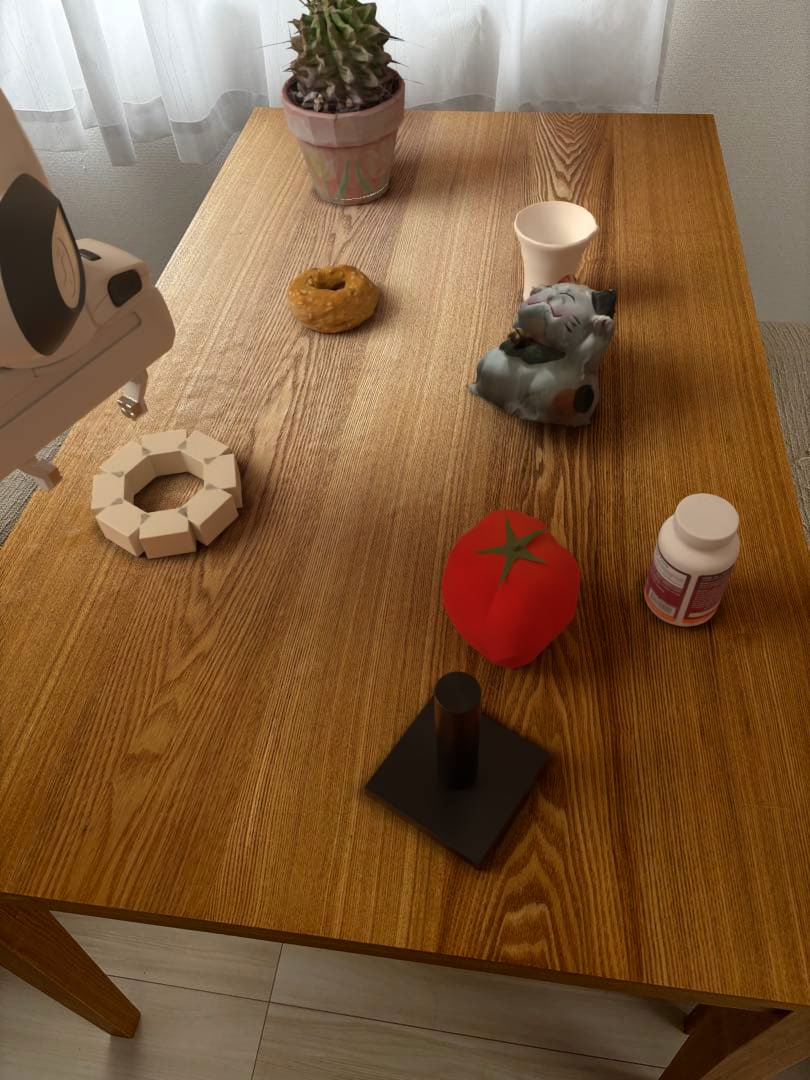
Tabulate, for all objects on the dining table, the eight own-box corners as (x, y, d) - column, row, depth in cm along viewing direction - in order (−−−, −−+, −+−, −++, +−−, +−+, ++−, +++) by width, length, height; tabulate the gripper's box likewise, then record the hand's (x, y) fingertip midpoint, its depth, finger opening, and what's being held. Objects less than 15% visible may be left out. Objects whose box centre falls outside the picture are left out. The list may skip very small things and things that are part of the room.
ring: (172, 579, 78) (163, 559, 75) (73, 517, 83) (61, 496, 81) (269, 486, 84) (264, 465, 82) (171, 433, 90) (164, 412, 87)
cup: (578, 329, 97) (589, 250, 89) (499, 313, 100) (503, 234, 92) (598, 284, 102) (609, 205, 94) (522, 269, 105) (527, 192, 97)
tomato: (444, 689, 70) (443, 619, 62) (439, 563, 78) (438, 487, 70) (584, 686, 69) (600, 615, 61) (565, 559, 77) (578, 482, 69)
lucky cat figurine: (449, 377, 93) (486, 246, 87) (543, 390, 98) (585, 266, 92) (510, 434, 81) (558, 287, 75) (614, 446, 86) (667, 308, 80)
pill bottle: (717, 575, 75) (751, 491, 67) (716, 635, 72) (752, 553, 63) (644, 565, 76) (668, 480, 68) (640, 622, 73) (664, 541, 64)
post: (478, 871, 61) (483, 797, 50) (364, 793, 65) (347, 711, 54) (548, 759, 66) (566, 672, 55) (439, 694, 69) (436, 600, 59)
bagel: (395, 319, 100) (393, 283, 96) (307, 349, 97) (301, 314, 93) (360, 274, 105) (357, 239, 102) (276, 302, 103) (269, 267, 99)
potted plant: (394, 237, 110) (381, 24, 91) (262, 207, 116) (224, 0, 96) (450, 169, 120) (450, -37, 100) (327, 144, 126) (303, -55, 106)
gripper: (-67, 413, 55) (20, 546, 66) (163, 252, 65) (205, 391, 76) (-124, 377, 57) (-32, 512, 68) (106, 228, 67) (155, 366, 78)
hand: (94, 447), depth 72 cm, fingers open, 8 cm apart
